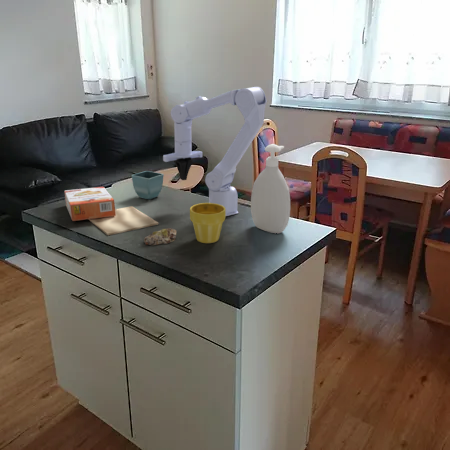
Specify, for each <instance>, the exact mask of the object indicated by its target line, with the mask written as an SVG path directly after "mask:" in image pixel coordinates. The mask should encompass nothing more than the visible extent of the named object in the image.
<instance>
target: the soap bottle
mask: <svg viewBox="0 0 450 450" xmlns="http://www.w3.org/2000/svg"><path fill="white" fill-rule="evenodd" d="M284 149H285V145H277V144H276V143H271V144H268V145H267V146H265V147H264V151H265V152H268V153H270V156H268V157H267V158H266V159H265V167H264V169H263V170H262V171H261V172H260V173H258V176H257V177H256V179H255V180H254V182H253V186H252V189H251V195H250V196H251V197H250V212H251V219H252V222H253V224H254V226H255V227H256V228H257V229H260V230H262V231H265V232H267V233H270V234H276V233H277V234H281V233H283V232H284V231H285V230H286V228H287V227H288V224H289V221H290V216H291V195H290V188H289V186H288V184H287V181H286V179H285V176H284V175H283V173H282V171H281V170H280V169H279V158H278V157H277V156H275V154H276V153H279V152H282V150H284Z"/></svg>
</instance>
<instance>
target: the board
mask: <svg viewBox="0 0 450 450" xmlns="http://www.w3.org/2000/svg"><path fill="white" fill-rule="evenodd" d="M115 214H116V216H110V217H102V218H94V219H87V220H89V221H90V222H91V223H92V224H93V225H95V226H96V227H97V229H99V230H101V232H103V233H104V234H105V235H107V236H111V235H117V234H122V233H127V232H130V231H131V232H132V231H135V230H139V229H140V230H141V229H143V228H144V229H145V228H149V227H153V226H158V225H159V222H158V221H157V220H154V219H153V218H152V217H150V216H149V215H147V214H146V213H144V212H142V211H140V210H138V209H137V208H135V207H134V206H133V205H131V206H127V207H126V206H125V207H120V208H115Z"/></svg>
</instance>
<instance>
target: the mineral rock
mask: <svg viewBox="0 0 450 450" xmlns="http://www.w3.org/2000/svg"><path fill="white" fill-rule="evenodd" d="M176 237H177V230H176V229H174V228H171V227H170V228H162V229H160V230H158V231H157V230H156V231H152V233H150V234H148V236H145V237H144V239H143V242H144V243H145V246H149V245H150V246H156V245H157V246H158V245H161V244H165V245H166V244H170V243H172V242H175V241H176Z"/></svg>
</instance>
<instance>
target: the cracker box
mask: <svg viewBox="0 0 450 450" xmlns="http://www.w3.org/2000/svg"><path fill="white" fill-rule="evenodd" d="M64 199H65V206H66V209H67V211H68V213H69V216H70V219H71V220H72V222H76V221H84V220H88V219H94V218H102V217H110V216H116V214H115V209H116V205H115V199H114V198H113V196H112V195H111V194H110V193H109V192H108V190H107V189H106V188H105V187H104V186H97V187H88V188H79V189H78V188H76V189H67V190H64Z"/></svg>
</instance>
